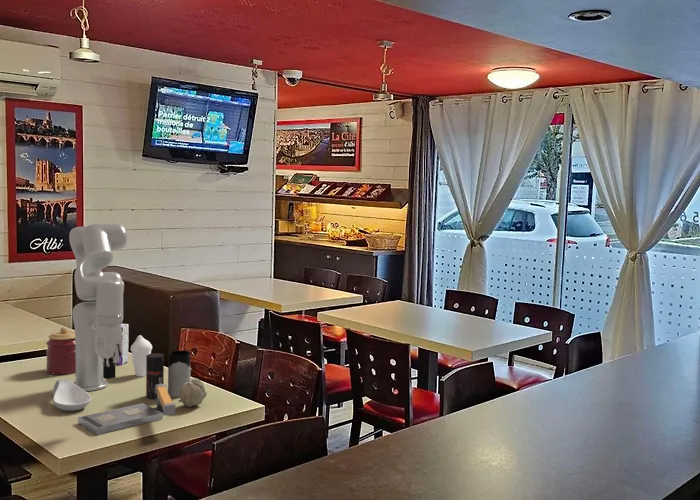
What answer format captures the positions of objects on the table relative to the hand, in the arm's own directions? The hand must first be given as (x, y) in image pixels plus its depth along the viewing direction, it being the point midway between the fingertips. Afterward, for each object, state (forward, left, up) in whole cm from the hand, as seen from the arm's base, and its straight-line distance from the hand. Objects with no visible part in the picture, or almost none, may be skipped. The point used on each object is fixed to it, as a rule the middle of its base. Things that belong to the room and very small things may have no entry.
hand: (109, 377), depth 212 cm
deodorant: (-17, +25, -15) cm, 34 cm away
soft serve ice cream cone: (-45, +35, -15) cm, 59 cm away
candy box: (-71, +35, -15) cm, 80 cm away
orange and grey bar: (+9, +14, -9) cm, 19 cm away
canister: (-70, +15, -15) cm, 73 cm away
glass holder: (-17, +35, -15) cm, 42 cm away
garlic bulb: (+1, +29, -15) cm, 33 cm away
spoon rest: (-28, -1, -16) cm, 32 cm away
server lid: (-1, +4, -15) cm, 16 cm away
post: (-1, +18, -15) cm, 24 cm away
